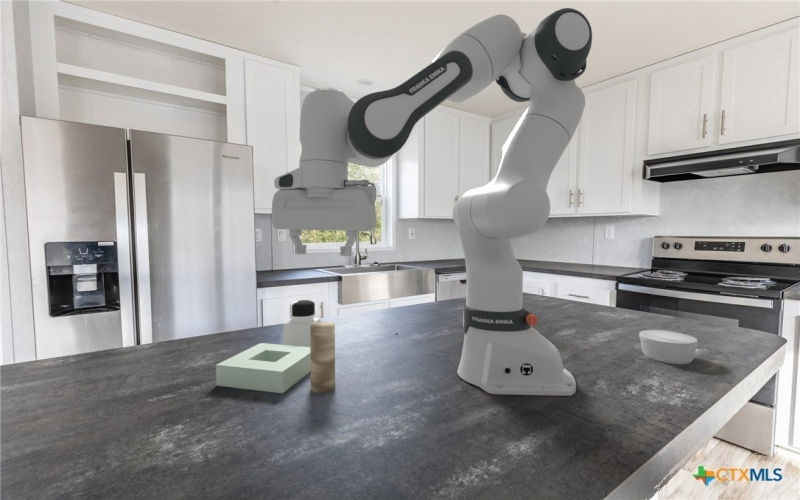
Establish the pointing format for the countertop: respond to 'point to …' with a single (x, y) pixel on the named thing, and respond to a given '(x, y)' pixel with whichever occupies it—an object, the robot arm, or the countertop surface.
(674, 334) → the ramekin
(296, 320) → the medicine bottle
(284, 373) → the socket block
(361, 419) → the countertop surface
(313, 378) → the maple peg
